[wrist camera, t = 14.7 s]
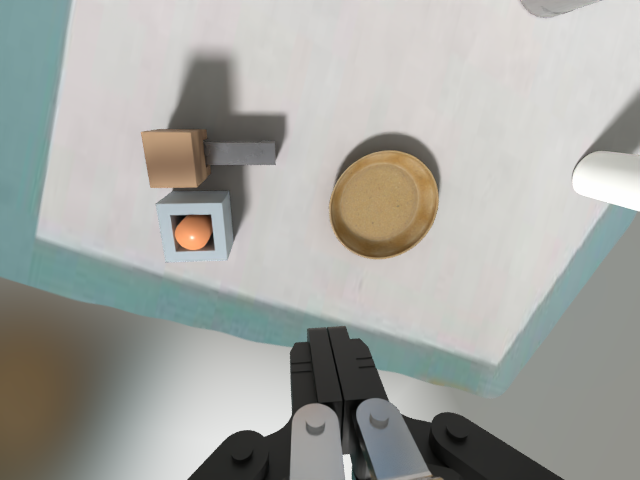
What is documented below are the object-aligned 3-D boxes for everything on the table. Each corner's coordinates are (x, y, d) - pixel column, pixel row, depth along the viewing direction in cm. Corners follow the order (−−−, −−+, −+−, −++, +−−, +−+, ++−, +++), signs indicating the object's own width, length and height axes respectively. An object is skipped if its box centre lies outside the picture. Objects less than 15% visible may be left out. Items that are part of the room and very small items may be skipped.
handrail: (164, 139, 39) (153, 142, 36) (275, 140, 40) (274, 143, 37) (167, 160, 40) (157, 164, 36) (275, 160, 41) (275, 164, 38)
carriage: (166, 128, 37) (140, 132, 30) (206, 128, 38) (190, 132, 31) (172, 174, 39) (150, 187, 32) (211, 174, 39) (197, 187, 33)
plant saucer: (429, 139, 43) (438, 140, 40) (431, 241, 48) (440, 248, 46) (318, 158, 42) (321, 161, 40) (334, 260, 48) (337, 268, 45)
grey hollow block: (172, 191, 41) (155, 203, 36) (229, 190, 42) (222, 202, 36) (179, 243, 44) (165, 262, 38) (233, 241, 44) (227, 260, 39)
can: (560, 184, 47) (647, 206, 36) (590, 142, 45) (691, 152, 34) (591, 202, 49) (682, 228, 38) (621, 162, 47) (726, 178, 36)
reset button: (186, 205, 41) (172, 220, 36) (216, 205, 42) (206, 219, 36) (190, 232, 43) (177, 250, 37) (218, 231, 43) (210, 249, 38)
